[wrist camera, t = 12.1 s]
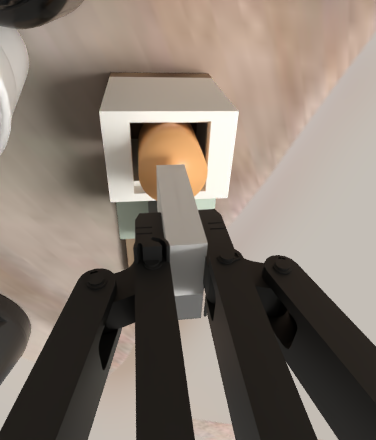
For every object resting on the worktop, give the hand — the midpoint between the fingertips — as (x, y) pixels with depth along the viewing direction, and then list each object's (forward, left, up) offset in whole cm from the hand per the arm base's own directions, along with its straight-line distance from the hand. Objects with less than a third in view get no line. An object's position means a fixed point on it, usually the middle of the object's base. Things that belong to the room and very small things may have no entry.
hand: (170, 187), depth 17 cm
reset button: (0, 0, -6) cm, 6 cm away
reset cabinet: (0, 0, -12) cm, 12 cm away
